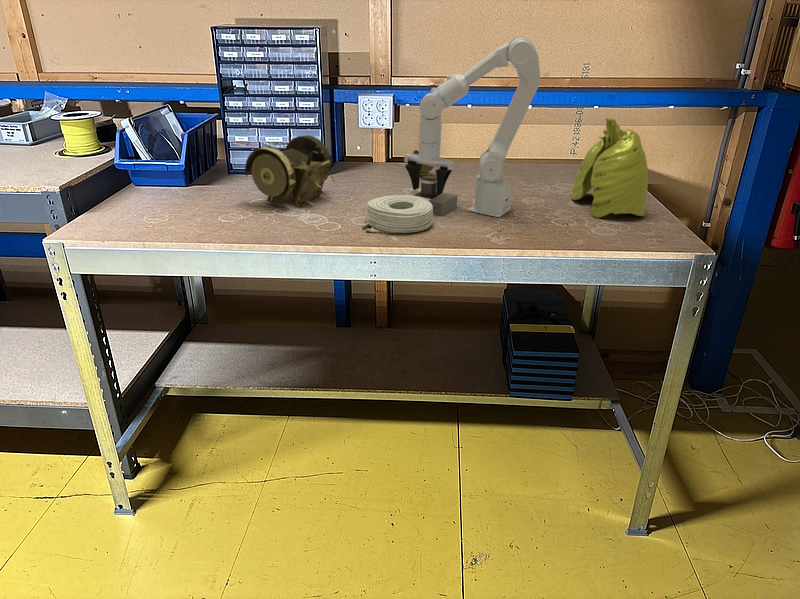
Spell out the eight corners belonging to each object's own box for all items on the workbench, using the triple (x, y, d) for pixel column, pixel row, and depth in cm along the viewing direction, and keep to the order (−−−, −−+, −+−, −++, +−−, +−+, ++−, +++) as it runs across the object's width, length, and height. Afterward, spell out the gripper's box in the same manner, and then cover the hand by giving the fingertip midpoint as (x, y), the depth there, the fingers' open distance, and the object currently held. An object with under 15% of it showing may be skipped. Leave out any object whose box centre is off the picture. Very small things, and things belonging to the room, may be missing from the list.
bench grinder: (235, 189, 162) (252, 128, 149) (284, 168, 179) (303, 111, 166) (291, 231, 159) (313, 172, 146) (336, 206, 176) (359, 150, 163)
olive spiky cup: (435, 179, 188) (437, 154, 184) (412, 178, 188) (413, 153, 184) (434, 173, 195) (435, 148, 191) (412, 172, 194) (413, 148, 191)
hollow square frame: (456, 207, 163) (457, 195, 161) (441, 215, 156) (441, 203, 155) (420, 199, 169) (420, 187, 167) (403, 207, 162) (403, 195, 160)
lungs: (563, 194, 176) (575, 111, 165) (612, 193, 178) (628, 111, 167) (595, 222, 154) (612, 129, 143) (651, 221, 156) (672, 129, 145)
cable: (359, 233, 144) (359, 210, 141) (372, 211, 159) (372, 189, 157) (429, 238, 142) (431, 214, 139) (435, 215, 157) (436, 193, 155)
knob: (432, 206, 160) (433, 181, 157) (417, 203, 162) (417, 178, 159) (439, 201, 164) (440, 177, 160) (424, 198, 166) (425, 174, 162)
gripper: (461, 142, 154) (457, 192, 160) (414, 135, 161) (412, 183, 167) (448, 147, 149) (445, 198, 155) (400, 139, 156) (399, 189, 162)
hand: (427, 191), depth 161 cm, fingers open, 7 cm apart
